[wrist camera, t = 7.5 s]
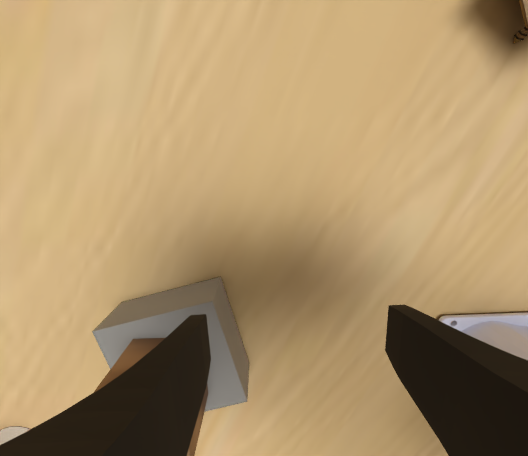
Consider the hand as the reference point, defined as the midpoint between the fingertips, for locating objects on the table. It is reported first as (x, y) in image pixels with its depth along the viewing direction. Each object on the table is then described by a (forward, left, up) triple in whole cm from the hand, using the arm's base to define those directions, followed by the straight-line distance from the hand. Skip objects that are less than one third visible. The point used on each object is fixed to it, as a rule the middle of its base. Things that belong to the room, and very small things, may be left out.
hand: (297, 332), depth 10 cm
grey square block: (+8, +7, -10) cm, 14 cm away
